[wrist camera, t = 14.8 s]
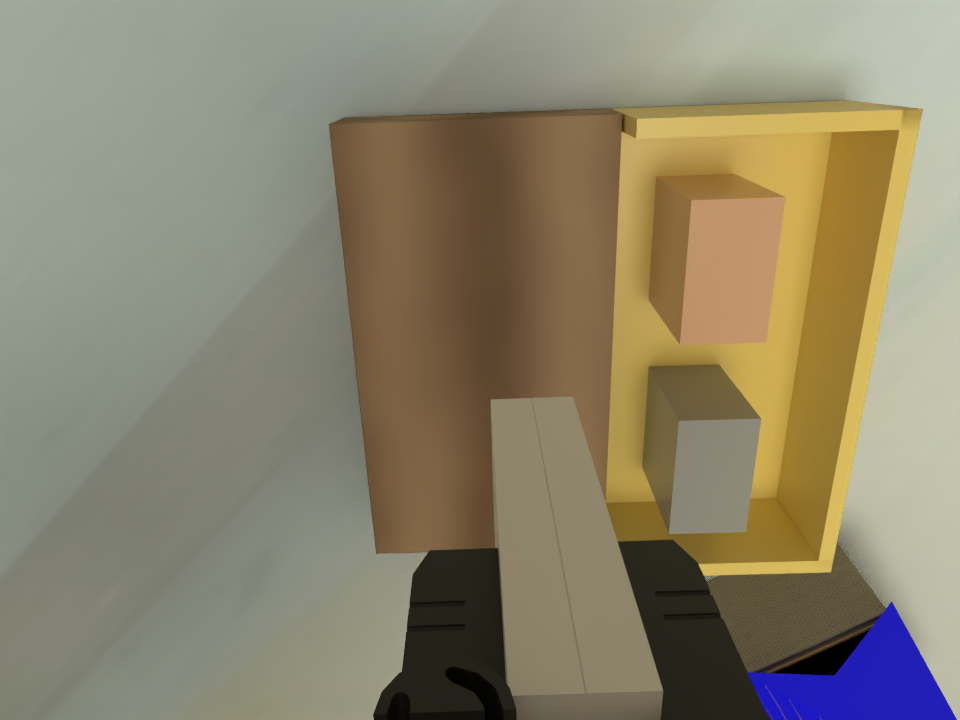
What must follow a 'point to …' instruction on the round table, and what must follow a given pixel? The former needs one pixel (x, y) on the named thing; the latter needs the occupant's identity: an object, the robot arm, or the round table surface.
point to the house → (826, 646)
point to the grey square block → (699, 448)
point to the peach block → (714, 257)
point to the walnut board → (473, 298)
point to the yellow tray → (793, 317)
